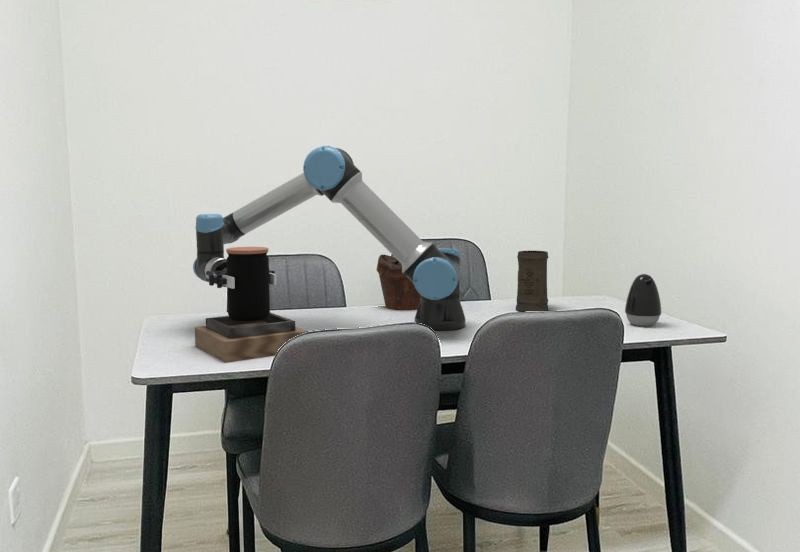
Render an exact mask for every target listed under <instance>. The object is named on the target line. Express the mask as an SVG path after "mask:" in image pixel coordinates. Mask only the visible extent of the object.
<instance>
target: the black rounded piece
mask: <svg viewBox="0 0 800 552" xmlns="http://www.w3.org/2000/svg"><path fill="white" fill-rule="evenodd" d="M626 298H627V299H626V303H625V307H624V308H625V309H624V313H625V315H626V318H627V319H626V320H627V321H628V322H629V323H630V324H632V325H633V326H636V327H644V328H645V327H652V326H654V325H656V324H657V322H659V320H660V316H661V315H662V303H661V297H660V293H659V290H658V286H657V284H656V282H655V280H654V278H653V276H651V275H650V274H647V273H642V274H639V275H637V276H636V277H635V278H634V279H633V281H632V283H631V286H630V288H629V290H628V293H627V297H626Z"/></svg>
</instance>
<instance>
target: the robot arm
mask: <svg viewBox="0 0 800 552" xmlns="http://www.w3.org/2000/svg"><path fill="white" fill-rule="evenodd" d="M302 171H303V172H301V174H299V175H297V176H295V177H293V178H291V179H290V180H288V181H286V182H284V183H283V184H281V185H279V186H278V187H275V188H273V189H272V190H270V191H268V192H267V193H265V194H262V196H260V197H258V198H256V199H255V200H252V201H250V202H249V203H247V204H245V205H244V206H242V207H240V208H238V209H236V210H234V211H233V212H231V213H229V214H228V215H226V216H224V217H223V215H222V214H220V213H204V214H203V213H201V214H198V215H197V216H196V217H195V237H196V258H195V260H194V262H193V264H192V270H193V273H194V275H195V276H196V277H197V278H199V279H200V280H202V281H203V282H206V283H208V284H209V286H210V287H213V286H214V285H216V287H217V289H222V288H227V287H228V288H231V289H233V288H235V279H234V277H231V276H227V262H226V260H227V258H225V247H224V246H225V245H226V244H228V245H229V244H232V243H235V242H237V241H238V240H240V239H241V238H242V237H244V236H245V235H246V234H248V233H251V232H252V231H254V230H256V229H257V228H259V227H261V226H263V225H265V224H267V223H268V222H270V221H272V220H274V219H275V218H277V217H280V216H281V215H282V214H285V213H286V212H288V211H290V210H292V209H293V208H296V207H297V206H299V205H301V204H302V203H304V202H306V201H309V200H311V199H312V198H314V197H315V196H320V197H322V196H325V197H326V199H328V200H329V201H330V202H331V203H335V204H341V205H342V206H343V207H344V208H345V209H346V210H347V211H348V212H349V213H350V214H351V215H352V216H353V217H354V218H355V219H356V220H357V221H358V222H359V223H360V224H361V225H362V226H363V227H364V228H365V229H366V230H367V231H368V232H369V233H370V234H371V235H372V236H373V237H374V238H375V239H376V240H377V241H378V242H379V243H380V244H381V245H382V246H383V247H384V248H385V249H386V250H387V251H388V252H389V253H390V255H391V256H392V257H395V258H396V259H397V260H398V261H399V262H400V263H401V264H402V272H403V274H404V275H405V276H406V277H407V278H408V279H409V280H410V281H411V282H412V283H413V284H414V286H415V289H416V290H417V291H418V293H419V294H420V303H419V306H418V309H416V312H415V315H414V323H415V322H416V323H422V324H425V325H427V326H429V327H431V328H432V329H433V330H432V331H454V330H459V329H462V328H465V327H466V326H467V325H466V324H467V323H466V320H467V319H466V316H465V313H464V309H463V306H462V304H461V300H460V298H461V297H460V294H461V291H460V289H461V284H460V283H461V273H460V272H461V271H460V269H461V267H460V266H461V258H462V257H461V255H460V254H461V253H460V250H459V249H457V248H447V247H443V248H442V247H441V248H440V247H438V246H436V245H435V243H433V242H425V241H423V240H422V239H421V238H420V237H419V236H418V235H417V234H416V233H415V232H414V231H413V230H412V229H411V228H410V227H409V226H408V225H407V224H406V223H405V222H404V221H403V220H402V219H401V218H400V217H399V216H398V215H397V214H396V213H395V212H394V211H393V210H392V209H391V208H390V207H389V205H387V204H386V202H384V201H383V200H382V198H380V197H379V196H378V195H377V194H376V193H375V192H374V191H373V190H372V189H371V188H370V187H369V186H368V185H367V184H366V183H365V182H364V181H363V172H362V171H361V170H360V169H359V168H358V167H357V166H356V165H355V162H354V161H353V159H352V157H351V156H350V154H349V153H348V152H346V151H345V150H344V149H341V148H338V147H333V146H330V145H321V146H319V147H318V146H317V147H315V148H314V149H312V150H311V151H310V152H309V153H308V154H307V156H306V157H305V159H304V161H303V169H302ZM277 279H278V277H277V274H276V272H275V270H269V285H272V286H277V285H278V282H277V281H278V280H277Z"/></svg>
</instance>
